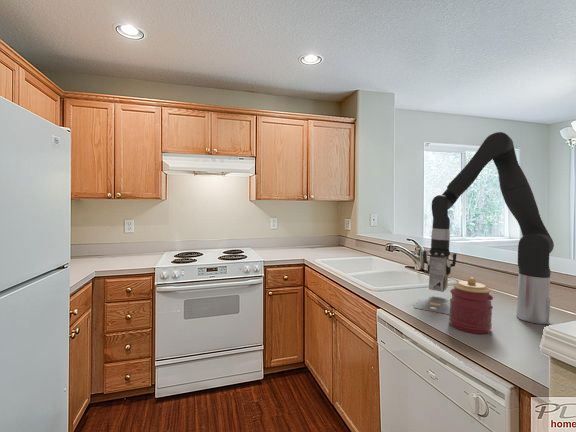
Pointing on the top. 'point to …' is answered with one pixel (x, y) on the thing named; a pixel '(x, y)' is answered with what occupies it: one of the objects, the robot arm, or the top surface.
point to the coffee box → (438, 273)
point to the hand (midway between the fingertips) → (438, 273)
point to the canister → (471, 307)
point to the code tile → (433, 306)
